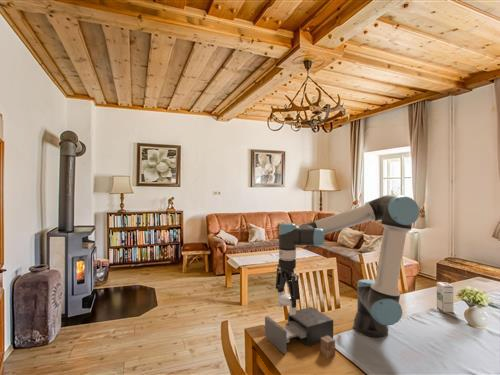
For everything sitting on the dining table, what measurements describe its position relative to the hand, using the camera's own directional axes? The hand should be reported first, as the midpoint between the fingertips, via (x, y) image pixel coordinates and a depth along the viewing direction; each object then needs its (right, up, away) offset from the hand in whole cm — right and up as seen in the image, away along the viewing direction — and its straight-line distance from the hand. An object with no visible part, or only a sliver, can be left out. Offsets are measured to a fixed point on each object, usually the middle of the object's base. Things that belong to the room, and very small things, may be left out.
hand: (286, 310), depth 122 cm
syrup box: (+91, -14, +31) cm, 98 cm away
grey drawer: (+1, -13, 0) cm, 13 cm away
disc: (0, +4, 0) cm, 4 cm away
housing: (+11, -14, +6) cm, 19 cm away
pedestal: (+15, -14, -9) cm, 22 cm away
